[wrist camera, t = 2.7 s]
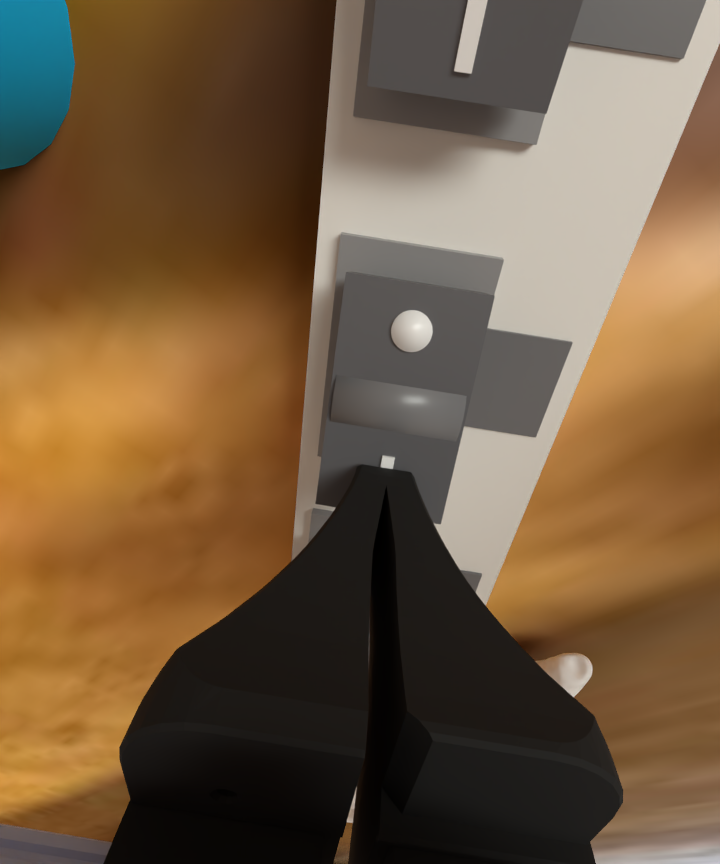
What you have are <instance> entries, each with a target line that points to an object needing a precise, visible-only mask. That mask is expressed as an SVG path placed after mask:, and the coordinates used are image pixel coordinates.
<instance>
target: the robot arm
mask: <svg viewBox="0 0 720 864" xmlns="http://www.w3.org/2000/svg"><path fill="white" fill-rule="evenodd" d="M369 617H370V624H369ZM368 660H369V669H368ZM120 763H121V766H122V770H123V773H124V777H125V781H126V784H127V788H128V792H129V795H130V802H129V804H128V806H127V809H126V811H125V814H124V816H123V818H122V821H121V823H120V825H119V828H118V830H117V832H116V835H115V837H114V839H113V842H107V841H101V840H95V839H89V838H83V837H77V836H71V835H65V834H59V833H53V832H47V831H41V830H35V829H29V828H23V827H17V826H11V825H5V824H0V864H333V861H334V858H335V854H336V851H337V847H338V843H339V840H340V837H342V836H343V833H344V829H345V826H346V822H347V819H348V815H349V811H350V808H351V804H352V801H353V797H354V794H355V790H356V798H355V808H354V817H353V826H352V835H351V843H350V852H349V861H348V864H596V863H595V859H594V855H593V851H592V848H591V844H590V841H591V840H592V839H593V838H594V837H595V836H596V835H597V834H598V833H599V832H600V831H601V830H602V829H603V828H604V827H605V826H606V825H607V824H608V823H609V822H610V821H611V820H612V819H613V817H614V816H615V814H616V812H617V811H618V809H619V808H620V806H621V804H622V803H623V789H622V786H621V783H620V780H619V777H618V774H617V771H616V768H615V765H614V762H613V759H612V756H611V754H610V751H609V749H608V746H607V744H606V742H605V739H604V737H603V735H602V733H601V731H600V728H599V726H598V724H597V721H596V719H595V717H594V715H593V714H592V713H590V712H589V711H588V710H587V709H586V708H585V707H584V706H583V705H582V704H580V703H579V702H578V701H577V700H576V699H575V698H574V697H573V696H572V695H570V694H569V693H568V692H567V691H566V690H565V689H564V688H563V687H562V686H560V685H559V684H558V683H557V682H556V681H555V680H554V679H553V678H552V677H550V676H549V675H548V674H547V673H546V672H545V671H544V670H543V669H542V668H541V667H540V666H539V665H538V664H537V663H536V662H535V661H534V660H533V659H532V658H531V657H530V656H529V655H528V654H527V653H526V652H525V651H524V650H523V649H522V648H521V646H520V645H519V644H518V643H517V642H516V641H515V640H514V639H513V638H512V636H511V635H510V634H509V633H508V632H507V631H506V629H505V628H504V627H503V626H502V625H501V624H500V623H499V621H498V620H497V619H496V618H495V617H494V616H493V615H492V613H491V612H490V611H489V610H488V608H487V607H486V606H485V604H484V603H483V602H482V600H481V599H480V598H479V597H478V595H477V594H476V592H475V591H474V590H473V588H472V587H471V585H470V584H469V583H468V581H467V580H466V578H465V577H464V575H463V574H462V572H461V571H460V569H459V568H458V566H457V564H456V563H455V561H454V559H453V558H452V556H451V554H450V553H449V551H448V549H447V548H446V546H445V544H444V542H443V540H442V539H441V537H440V535H439V533H438V531H437V529H436V527H435V525H434V523H433V521H432V519H431V517H430V515H429V513H428V511H427V508H426V506H425V504H424V502H423V499H422V497H421V494H420V492H419V489H418V487H417V484H416V481H415V478H414V476H413V474H412V473H411V472H407V471H401V470H394V469H388V468H382V467H376V466H370V465H363V464H362V465H360V466H358V467H357V468H356V472H355V475H354V477H353V479H352V482H351V484H350V485H349V487H348V489H347V491H346V493H345V494H344V496H343V498H342V499H341V501H340V502H339V504H338V505H337V507H336V508H335V510H334V511H333V513H332V514H331V515H330V517H329V518H328V519H327V521H326V522H325V523H324V525H323V526H322V527H321V528H320V530H319V531H318V532H317V533H316V535H315V536H314V537H313V538H312V540H311V541H310V542H309V543H308V544H307V545H306V546H305V548H304V549H303V550H302V551H301V552H300V553H299V554H298V555H297V556H296V557H295V558H294V559H293V560H292V561H291V562H290V563H289V564H288V565H287V566H286V567H285V568H284V569H283V570H282V571H281V572H280V573H279V574H278V575H277V576H275V577H274V578H273V579H272V580H271V581H270V582H269V583H268V584H267V585H265V586H264V587H263V588H262V589H261V590H260V591H258V592H257V593H256V594H255V595H253V596H252V597H251V598H249V599H248V600H247V601H246V602H244V603H243V604H242V605H240V606H239V607H238V608H237V609H235V610H234V611H233V612H231V613H230V614H229V615H227V616H226V617H225V618H223V619H222V620H220V621H219V622H218V623H216V624H214V625H213V626H211V627H210V628H208V629H207V630H205V631H204V632H202V633H201V634H199V635H198V636H196V637H195V638H193V639H192V640H190V641H188V642H187V643H185V644H184V645H182V646H181V647H179V648H178V649H177V650H176V651H175V652H174V654H173V655H172V656H171V658H170V659H169V660H168V662H167V663H166V664H165V666H164V667H163V668H162V670H161V671H160V673H159V674H158V676H157V677H156V679H155V680H154V682H153V683H152V685H151V687H150V688H149V690H148V692H147V693H146V695H145V696H144V698H143V700H142V702H141V704H140V705H139V707H138V709H137V711H136V714H135V716H134V718H133V720H132V722H131V724H130V726H129V728H128V730H127V733H126V735H125V737H124V739H123V741H122V743H121V745H120ZM356 787H357V789H356Z"/></svg>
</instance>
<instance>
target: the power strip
mask: <svg viewBox="0 0 720 864" xmlns="http://www.w3.org/2000/svg"><path fill="white" fill-rule="evenodd" d="M375 3H376V0H337V2H336V14H335V27H334V39H333V52H332V64H331V76H330V89H329V101H328V113H327V126H326V138H325V151H324V163H323V175H322V188H321V200H320V213H319V225H318V237H317V250H316V262H315V274H314V287H313V299H312V312H311V324H310V336H309V349H308V361H307V374H306V386H305V398H304V411H303V423H302V435H301V448H300V460H299V473H298V485H297V497H296V510H295V522H294V535H293V547H292V559H291V561H292V560H293V559H294V558H295V557H296V556H297V555H298V554H299V553H300V552H301V551H302V550H303V549H304V548H305V546H306V545H307V544H308V543H309V542H310V541H311V540H312V538H313V537H314V536H315V535H316V533H317V532H318V531H319V530H320V528H321V527H322V526H323V525H324V523H325V522H326V521H327V519H328V518H329V517H330V515H331V514H332V513H333V511H334V510H335V508H336V507H330V506H324V505H318V504H315V502H316V495H317V487H318V480H319V472H320V464H321V457H322V449H323V442H324V434H325V427H326V419H327V411H328V404H329V396H330V389H331V381H332V374H333V366H334V358H335V351H336V343H337V336H338V328H339V321H340V313H341V306H342V298H343V290H344V283H345V275H346V272H350V271H352V272H358V273H364V274H370V275H377V276H383V277H389V278H396V279H402V280H408V281H414V282H421V283H427V284H433V285H440V286H446V287H452V288H458V289H465V290H471V291H477V292H483V293H487V294H490V295H494V296H495V298H494V302H493V306H492V310H491V314H490V319H489V323H488V327H487V331H486V336H485V340H484V344H483V348H482V352H481V357H480V361H479V365H478V369H477V374H476V378H475V382H474V386H473V391H472V395H471V399H470V403H469V407H468V412H467V416H466V420H465V424H464V429H463V433H462V437H461V441H460V445H459V450H458V454H457V458H456V462H455V467H454V471H453V475H452V479H451V483H450V488H449V492H448V496H447V500H446V505H445V509H444V513H443V517H442V521H441V524H435V523H434V525H435V527H436V529H437V531H438V533H439V535H440V537H441V539H442V540H443V542H444V544H445V546H446V548H447V549H448V551H449V553H450V554H451V556H452V558H453V559H454V561H455V563H456V564H457V566H458V568H459V569H460V571H461V572H462V574H463V575H464V577H465V578H466V580H467V581H468V583H469V584H470V585H471V587H472V588H473V590H474V591H475V592H476V594H477V595H478V597H479V598H480V599H481V600H482V602H483V603H484V604H485V606H486V603H487V601H488V599H489V596H490V594H491V591H492V589H493V587H494V584H495V582H496V579H497V577H498V575H499V572H500V570H501V567H502V565H503V563H504V560H505V558H506V555H507V553H508V551H509V548H510V546H511V543H512V541H513V539H514V536H515V534H516V531H517V529H518V527H519V524H520V522H521V519H522V517H523V515H524V512H525V510H526V507H527V505H528V503H529V500H530V498H531V495H532V493H533V490H534V488H535V486H536V483H537V481H538V478H539V476H540V474H541V471H542V469H543V466H544V464H545V462H546V459H547V457H548V454H549V452H550V450H551V447H552V445H553V442H554V440H555V438H556V435H557V433H558V430H559V428H560V426H561V423H562V421H563V418H564V416H565V414H566V411H567V409H568V406H569V404H570V402H571V399H572V397H573V394H574V392H575V390H576V387H577V385H578V382H579V380H580V377H581V375H582V373H583V370H584V368H585V365H586V363H587V361H588V358H589V356H590V353H591V351H592V349H593V346H594V344H595V341H596V339H597V337H598V334H599V332H600V329H601V327H602V325H603V322H604V320H605V317H606V315H607V313H608V310H609V308H610V305H611V303H612V301H613V298H614V296H615V293H616V291H617V289H618V286H619V284H620V281H621V279H622V277H623V274H624V272H625V269H626V267H627V265H628V262H629V260H630V257H631V255H632V252H633V250H634V248H635V245H636V243H637V240H638V238H639V236H640V233H641V231H642V228H643V226H644V224H645V221H646V219H647V216H648V214H649V212H650V209H651V207H652V204H653V202H654V200H655V197H656V195H657V192H658V190H659V188H660V185H661V183H662V180H663V178H664V176H665V173H666V171H667V168H668V166H669V164H670V161H671V159H672V156H673V154H674V152H675V149H676V147H677V144H678V142H679V140H680V137H681V135H682V132H683V130H684V127H685V125H686V123H687V120H688V118H689V115H690V113H691V111H692V108H693V106H694V103H695V101H696V99H697V96H698V94H699V91H700V89H701V87H702V84H703V82H704V79H705V77H706V75H707V72H708V70H709V67H710V65H711V63H712V60H713V58H714V55H715V53H716V51H717V48H718V46H719V43H720V0H583V2H582V6H581V9H580V12H579V15H578V18H577V21H576V24H575V27H574V30H573V33H572V36H571V40H570V43H569V46H568V49H567V52H566V55H565V58H564V61H563V64H562V67H561V70H560V73H559V77H558V80H557V83H556V86H555V89H554V92H553V95H552V98H551V101H550V104H549V107H548V111H547V114H543V113H536V112H530V111H524V110H517V109H511V108H504V107H498V106H492V105H485V104H479V103H472V102H466V101H460V100H453V99H447V98H440V97H434V96H428V95H421V94H415V93H408V92H402V91H395V90H389V89H383V88H376V87H370V86H367V83H368V73H369V63H370V53H371V43H372V33H373V23H374V13H375Z"/></svg>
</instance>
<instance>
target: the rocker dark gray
mask: <svg viewBox="0 0 720 864" xmlns="http://www.w3.org/2000/svg"><path fill="white" fill-rule="evenodd" d="M494 298H495V296H494V295H490V294H487V293H483V292H477V291H471V290H465V289H458V288H452V287H446V286H440V285H433V284H427V283H421V282H414V281H408V280H402V279H396V278H389V277H383V276H377V275H370V274H364V273H358V272H352V271H350V272H346V275H345V283H344V290H343V298H342V306H341V313H340V321H339V328H338V336H337V343H336V351H335V358H334V366H333V374H332V381H331V389H330V396H329V404H328V411H327V419H326V427H325V434H324V442H323V449H322V457H321V464H320V472H319V480H318V487H317V495H316V502H315V504H318V505H324V506H330V507H337V505H338V504H339V502H340V501H341V499H342V498H343V496H344V494H345V493H346V491H347V489H348V487H349V485H350V484H351V482H352V479H353V477H354V475H355V472H356V468H357V467H358V466H360V465H362V464H363V465H370V466H376V467H382V468H388V469H394V470H401V471H407V472H411V473H412V474H413V476H414V478H415V481H416V484H417V487H418V489H419V492H420V494H421V497H422V499H423V502H424V504H425V506H426V508H427V511H428V513H429V515H430V517H431V519H432V521H433V523H435V524H441V521H442V517H443V513H444V509H445V505H446V500H447V496H448V492H449V488H450V483H451V479H452V475H453V471H454V467H455V462H456V458H457V454H458V450H459V445H460V441H461V437H462V433H463V429H464V424H465V420H466V416H467V412H468V407H469V403H470V399H471V395H472V391H473V386H474V382H475V378H476V374H477V369H478V365H479V361H480V357H481V352H482V348H483V344H484V340H485V336H486V331H487V327H488V323H489V319H490V314H491V310H492V306H493V302H494Z"/></svg>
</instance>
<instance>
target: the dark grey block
mask: <svg viewBox="0 0 720 864" xmlns="http://www.w3.org/2000/svg"><path fill="white" fill-rule="evenodd" d="M582 2H583V0H376V3H375V13H374V23H373V33H372V43H371V53H370V63H369V73H368V83H367V86H370V87H376V88H383V89H389V90H395V91H402V92H408V93H415V94H421V95H428V96H434V97H440V98H447V99H453V100H460V101H466V102H472V103H479V104H485V105H492V106H498V107H504V108H511V109H517V110H524V111H530V112H536V113H543V114H547V111H548V107H549V104H550V101H551V98H552V95H553V92H554V89H555V86H556V83H557V80H558V77H559V73H560V70H561V67H562V64H563V61H564V58H565V55H566V52H567V49H568V46H569V43H570V40H571V36H572V33H573V30H574V27H575V24H576V21H577V18H578V15H579V12H580V9H581V6H582Z"/></svg>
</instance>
